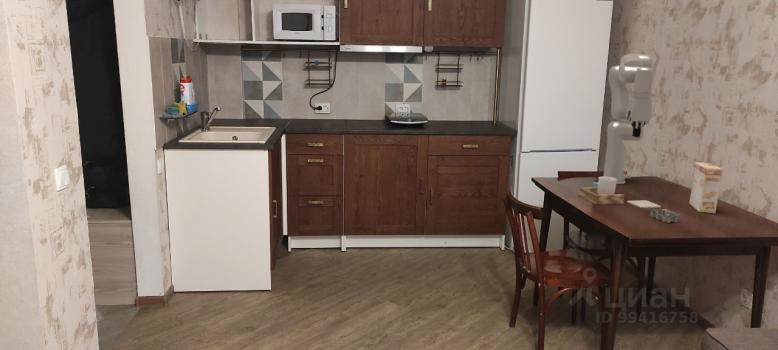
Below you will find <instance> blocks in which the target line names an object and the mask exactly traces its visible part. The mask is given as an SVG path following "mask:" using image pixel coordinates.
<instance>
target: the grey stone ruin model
mask: <svg viewBox="0 0 778 350" xmlns="http://www.w3.org/2000/svg"><path fill="white" fill-rule="evenodd" d="M649 209H650V210H651V212H650V218H655V220H659V221H661V222H662V223H668V224H669V223H672V222H673V223H678V217H679V216H680V215H681V213H679V214H678V213H676V212H674V211H672V210H671V211H670V210H669V209H667V208H663V209H662V208H661V209H660V208H659V209H657V208H651V207H650V208H649Z"/></svg>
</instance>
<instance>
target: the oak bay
mask: <svg viewBox="0 0 778 350" xmlns="http://www.w3.org/2000/svg"><path fill="white" fill-rule="evenodd" d="M578 197H580V198H581V197H582V199H584V200H585V201H588V202H590V203H592V204H594V205H618V204H619V205H622V204H623V205H624V201H625V194H623V193H621V194H619V193H618V194H616V193H614V194H613V195H598V187H592V186H590V187H579V188H578Z"/></svg>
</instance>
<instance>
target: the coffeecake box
mask: <svg viewBox="0 0 778 350" xmlns="http://www.w3.org/2000/svg"><path fill="white" fill-rule="evenodd" d="M723 170H724V169H723V168H721V167H719V166H717V165H715V164H714V163H711V162H702V161H700V162H698V161H695V165H694V171H693V178H692V183H691V184H692V185H691V191H690V197H689V205H691V206H692V208H694V209H695V210H696V211H697V212H699V213H710V214H716V212H717V207H718V200H719V194H720V190H721V189H720V187H721V181H722V177H723V176H722V175H723V172H724V171H723Z"/></svg>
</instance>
